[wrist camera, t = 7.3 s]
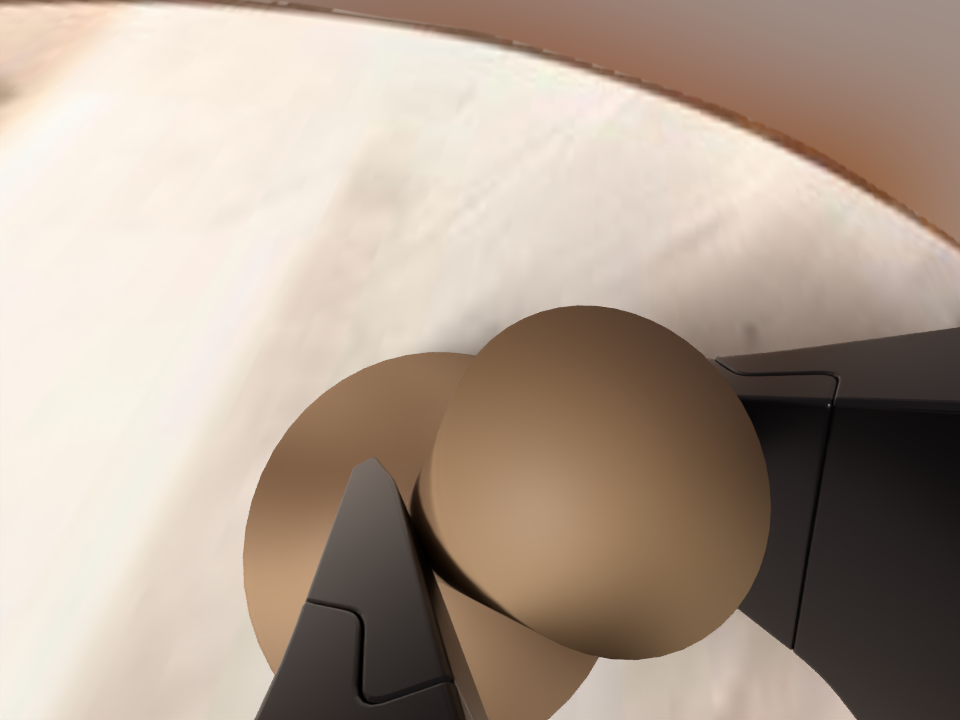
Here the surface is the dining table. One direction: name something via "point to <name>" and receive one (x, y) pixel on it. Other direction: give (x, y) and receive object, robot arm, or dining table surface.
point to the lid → (534, 498)
